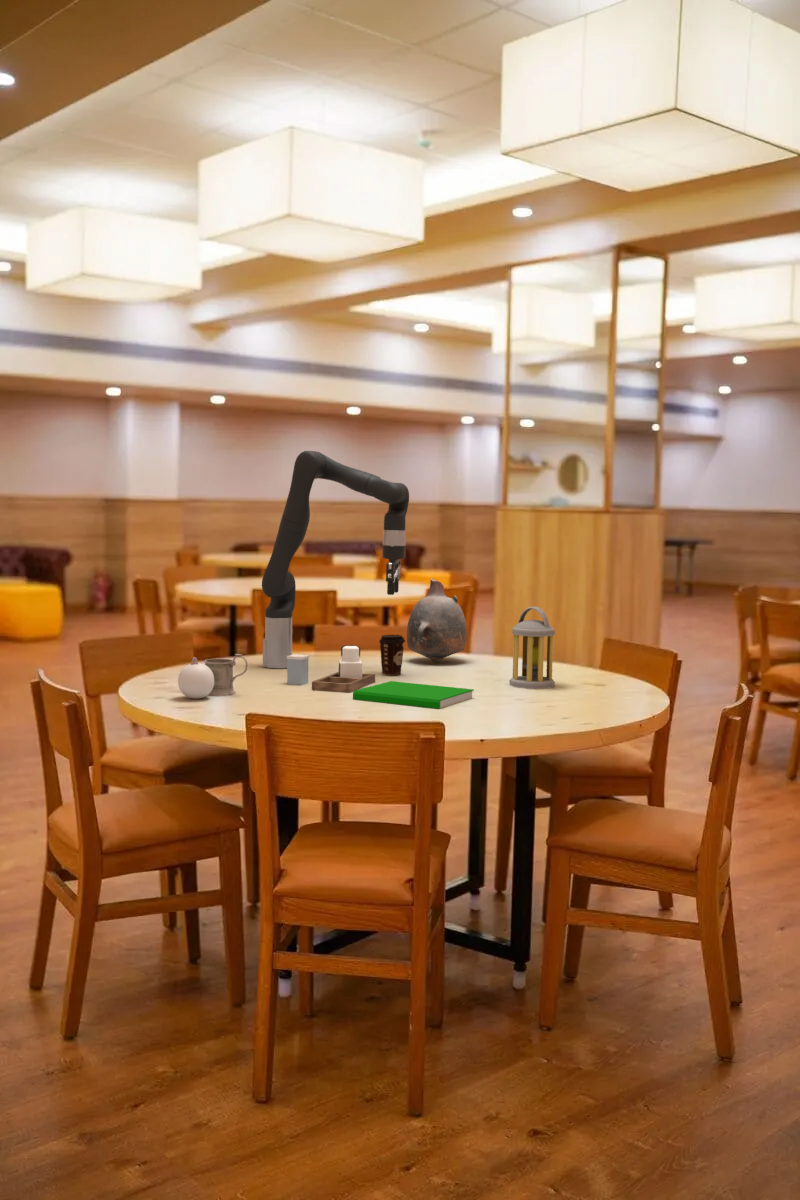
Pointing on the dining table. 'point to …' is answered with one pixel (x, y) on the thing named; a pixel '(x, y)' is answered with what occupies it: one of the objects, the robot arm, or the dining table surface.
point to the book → (413, 694)
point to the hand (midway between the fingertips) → (392, 593)
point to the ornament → (196, 680)
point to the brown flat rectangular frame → (342, 683)
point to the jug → (437, 625)
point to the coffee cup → (391, 654)
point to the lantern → (533, 652)
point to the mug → (223, 675)
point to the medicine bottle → (350, 662)
